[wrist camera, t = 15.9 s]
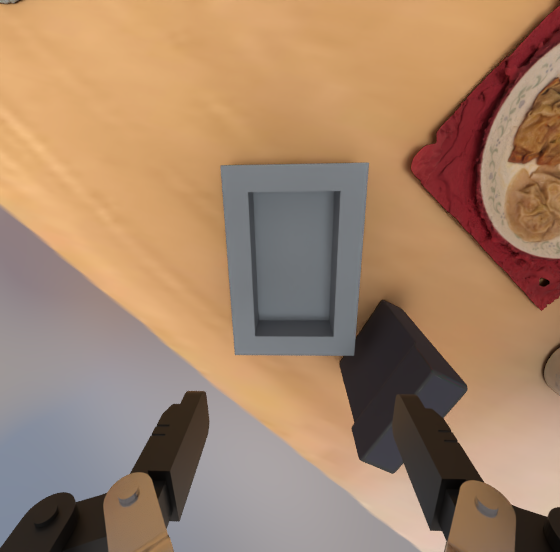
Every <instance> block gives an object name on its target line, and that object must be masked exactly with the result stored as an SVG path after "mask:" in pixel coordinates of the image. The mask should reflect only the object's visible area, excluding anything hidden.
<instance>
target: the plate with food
mask: <svg viewBox="0 0 560 552" xmlns="http://www.w3.org/2000/svg"><path fill="white" fill-rule="evenodd" d="M460 105H461V106H460V107H459V109H457V110H456V111H455V113H454V114H453V115H452V116H451V117H450V118H449V119H448V120H447V121H446V122H445V123H444V124H443V125H442V126H441V127H440V129H439V130H438V132H437V140H436V141H437V142H436V144H435V143H434V144H430V145H426V146H425V147H423V148H422V149H421V150H420V151H419V152H418V153H417V154H416V156H415V157H414V158H413V161H412V165H411V170H412V172H413V173H414V175H415V176H416V177H417V178H418V179H420V180H421V181H420V182H421V183H422V185H423V186H424V187H425V188H426V189H427V190H428V192H430V194H431V195H432V196H433V197H434V198H435V199H436V200H437V201H438V202H439V203H440V204H441V205H442V206H443V208H444V209H446V210H447V212H449V213H450V214H451V215H452V216H453V217H455V218H456V219H457V220H458V221H459V223H460V224H461V225H462V226H463V228H464V229H465V230H466V231H467V232H468V233H469V234H471V235H472V236H473V237H474V238H475V239H476V241H477V242H478V243H479V244H480V245H481V246H482V248H483V249H484V250H485V251H486V252H487V253H488V254H489V255H490V256H491V257H492V258H493V260H494V261H495V262H496V263H497V264H498V265H499V266H500V267H502V268H503V270H504V271H505V272H506V273H507V274H508V275H509V276H510V277H511V279H512V280H513V281H514V282H515V283H516V284H517V285H518V286H519V287H520V288H521V290H523V291H524V292H525V293H526V295H527V296H528V297H529V299H530V300H531V301H532V302H533V303H534V304H535V305H536V306H537V307H538V308H539V309H540V310H541V311H542V310H543V309H544V308H546V307H547V305H546V304H551V303H552V302H554V300H555V299H558V298H559V296H560V6H558V7H557V8H556V9H555V10H554V11H553V12H551V13H550V14H549V15H548V16H547V17H546V18H545V19H544V20H543V21H542V22H541V23H540V24H539V25H538V26H537V27H536V28H535V29H534V30H533V31H532V33H531V34H530V35H529V36H528V37H527V38H526V39H525V40H524V41H523V42H522V43H521V44H520V45H519V46H518V47H517V49H515V51H514V52H513V53H512V54H511V55H510V56H509V57H508V56H507V57H505V59H504V60H503V61H502V62H501V63H500V65H499V66H497V67H496V68H495V69H494V70H493V71H492V72H491V73H490V74H489V75H488V76H487V77H486V78H485V79H484V80H483V81H482V83H481V84H479V85H478V86H477V87H476V88H475V89H474V91H473V92H472V93H471V94H470V95H469V96H468V97H467V99H466V100H465V101H463V102H462V103H461V104H460ZM540 278H545V279H547V280H548V281H550V284H548V285H547V286H546V287H542V286H540V285H539V279H540Z"/></svg>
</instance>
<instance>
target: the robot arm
mask: <svg viewBox="0 0 560 552" xmlns="http://www.w3.org/2000/svg"><path fill="white" fill-rule="evenodd" d="M544 377H545V381H546V383H547V385H548V386H549V387H550V388H551V389H552V390H553V391H555V392H556V393H557V394H558V395H560V348H558V349H557V350H556V351H555V352H554V353H553V354H552V356H551V357H550V358H549V360H548V362H547V364H546V366H545V371H544ZM208 429H209V414H208V405H207V397H206V392H204V391H187V392H186V393H185V395H184V397H183V400H182V401H181V404H173V405H171V406H170V407H169V408H168V409H167V410H166V411H165V412H164V413H163V414H162V416H161V418H160V420H159V422H158V424H157V427H155V429H154V431H153V433H152V436H150V438H149V440H148V442H147V444H146V446H145V447H144V449H143V451H142V453H141V455H140V457H139V459H138V460H137V462H136V464H135V466H134V468H133V469H132V471H131V473H130V474H129V475H126V476H125V477H123V478H121V479H120V480H118V481H117V482H116V483H115V484H114V485H113V486H112V487H111V488H110V490H109V491H108V492H107V493H105V494H103V495H100V496H96V497H93V498H89V499H86V500H82V501H79V502H75V499H74V497H73V496H72V495H71V494H70V493H64V492H63V493H57V494H53V495H51V496H48V497H46V498H45V499H43V500H42V501H40V502H38V503H37V504H36V505H34V506H33V507H32V508H31V509H30V510H29V511H28V512H27V513H26V514H25V516H24V517H23V518H22V519H21V521H20V522H19V523H18V525H17V526H16V527H15V529H14V530H13V532H12V533H11V534H10V536H9V537H8V538H7V540H6V541H5V543H4V544H3V545H2V546H1V548H0V552H174V550H173V547H172V544H171V541H170V537H169V535H168V534H167V530H166V529H167V526H168V523H169V521H180V518H181V515H182V512H183V509H184V506H185V503H186V500H187V497H188V493H189V490H190V488H191V484H192V481H193V478H194V475H195V472H196V469H197V466H198V463H199V460H200V457H201V454H202V451H203V448H204V445H205V442H206V438H207V435H208ZM392 430H393V436H394V440H395V442H396V445H397V447H398V450H399V452H400V455H401V458H402V460H403V463H404V465H405V468H406V470H407V473H408V475H409V478H410V480H411V483H412V485H413V488H414V490H415V493H416V495H417V498H418V501H419V503H420V506H421V508H422V511H423V513H424V516H425V518H426V521H427V523H428V526H429V528H430V531H442V532H443V534H444V536H445V539H446V541H447V542H446V545H445V550H444V552H560V507H557V508H554V509H552V510H551V511H550V512H549V515H548V517H546V516H543V515H540V514H536V513H533V512H530V511H527V510H524V509H521V508H518V507H516V506H513V505H511V504H510V502H509V501H508V500H507V499H506V498H505V496H504V495H503V494H501V493H500V492H499V491H498V490H496V489H495V488H493V487H492V486H490V485H488V484H486V483H484V481H483V480H482V478H481V477H480V475H479V474H478V472H477V470H476V469H475V467H474V466H473V464H472V463H471V461H470V459H469V458H468V456H467V455H466V453H465V451H464V450H463V448H462V447H461V445H460V444H459V443H458V442H457V439H456V437H455V436H454V434H453V433H452V432H451V429H450V428H449V426H448V425H447V423H446V422H445V420H444V418H442V417H441V416H440V415H439V414H438V413H437V412H435V411H434V410H433V409H432V408H425V407H424V405H423V404H422V402H421V400H420V399H419V397H418V396H417V395H406V394H398V395H397V396H396V399H395V406H394V414H393V421H392Z"/></svg>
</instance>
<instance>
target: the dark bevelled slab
mask: <svg viewBox="0 0 560 552" xmlns="http://www.w3.org/2000/svg"><path fill="white" fill-rule="evenodd" d="M340 369H341V373H342V377H343V380H344V384H345V388H346V392H347V396H348V399H349V403H350V407H351V411H352V415H353V419H354V425H353V426H352V432H353V436H354V440H355V444H356V449H357V453H358V457H359V459H360V460H361V461H363V462H365V463H368V464H370V465H373V466H375V467H377V468H380V469H382V470H385V471H387V472H389V473H392V474H393V473H395V472H396V471H397V470H398V469H399V468H400V466H401V465H402V464H403V460H402V458H401V455H400V452H399V450H398V447H397V445H396V442H395V440H394V436H393V430H392V421H393V414H394V406H395V399H396V396H397V395H398V394H406V395H417V396H418V397H419V399H420V400H421V402H422V404H423V405H424V407H425V408H432V409H433V410H434V411H435V412H437V413H438V414H439V415H440V416H441V417H442V418H444V417H445V416H446V414H447V413H448V412H449V411H450V410H451V409H452V408H453V407H454V405H455V404H456V403H457V402H458V401H459V400H460V399H461V397H462V396H463V395H464V394H465V393H466V391H467V385H466V384H465V382H464V381H463V380H462V379H461V378H460V376H459V375H458V374H457V373H456V372H455V371H454V369H453V368H452V367H451V366H450V365H449V364H448V362H447V361H446V360H445V359H444V358H443V357H442V355H441V354H440V353H439V352H438V351H437V349H436V348H435V347H434V346H433V345H432V344H431V342H430V341H429V340H428V339H427V338H426V337H425V335H424V334H423V333H422V332H421V331H420V330H419V328H418V327H417V326H416V325H415V324H414V322H413V321H412V320H411V319H410V318H409V317H408V315H407V314H406V313H405V312H404V311H403V310H402V309H401V308H399V307H397V306H395V305H393V304H391V303H389V302H387V301H385V300H382V301H381V302H380V303H379V305H378V306H377V308H376V309H375V311H374V312H373V314H372V315H371V317H370V318H369V320H368V321H367V323H366V324H365V326H364V327H363V329H362V330H361V332H360V333H359V335H358V336H357V338H356V339H355V352H354V356H344V357H343V358H342V360H341V361H340Z"/></svg>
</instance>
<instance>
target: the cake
mask: <svg viewBox="0 0 560 552" xmlns="http://www.w3.org/2000/svg"><path fill="white" fill-rule="evenodd" d="M10 2H12V3H15V2H17V0H0V3H5V4H6V3H7V4H8V3H10Z"/></svg>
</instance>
